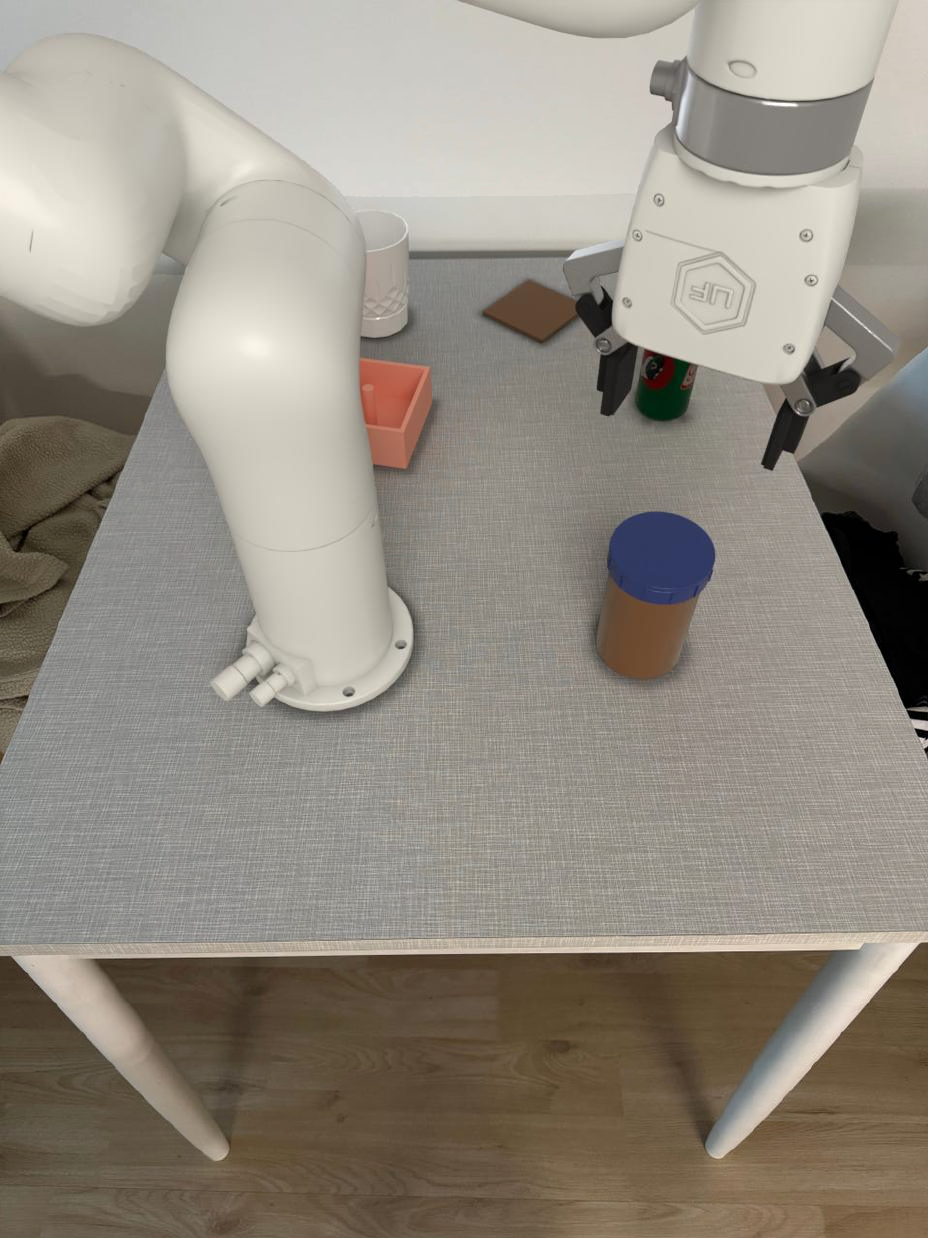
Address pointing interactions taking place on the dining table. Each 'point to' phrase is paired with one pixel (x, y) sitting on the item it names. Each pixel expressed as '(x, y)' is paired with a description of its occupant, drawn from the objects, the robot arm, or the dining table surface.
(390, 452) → the salmon pink open box
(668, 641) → the jar
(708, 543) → the lid
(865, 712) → the dining table surface
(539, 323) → the pad
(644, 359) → the soda can
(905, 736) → the dining table surface
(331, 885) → the dining table surface
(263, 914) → the dining table surface
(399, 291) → the white cup
